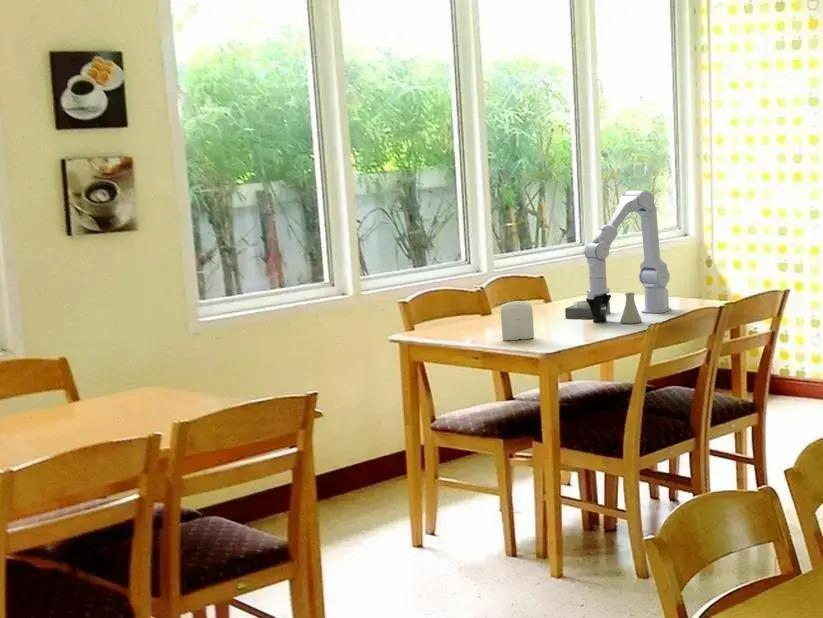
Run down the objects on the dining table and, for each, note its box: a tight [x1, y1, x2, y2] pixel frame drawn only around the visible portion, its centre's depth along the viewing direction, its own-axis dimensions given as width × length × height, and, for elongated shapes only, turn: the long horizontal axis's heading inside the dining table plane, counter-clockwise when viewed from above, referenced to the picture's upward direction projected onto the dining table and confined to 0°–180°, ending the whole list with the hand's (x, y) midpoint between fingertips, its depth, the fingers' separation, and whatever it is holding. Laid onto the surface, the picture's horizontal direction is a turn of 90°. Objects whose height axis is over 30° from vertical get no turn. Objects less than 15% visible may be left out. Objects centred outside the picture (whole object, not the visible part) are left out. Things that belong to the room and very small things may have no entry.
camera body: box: [564, 300, 611, 320], centre depth 432 cm, size 14×11×5 cm
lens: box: [592, 304, 607, 324], centre depth 416 cm, size 5×5×6 cm
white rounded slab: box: [500, 300, 535, 341], centre depth 392 cm, size 10×4×12 cm, turn 91°
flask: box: [619, 292, 643, 325], centre depth 410 cm, size 7×7×10 cm
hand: (599, 317), depth 416 cm, fingers closed on lens, 5 cm apart
